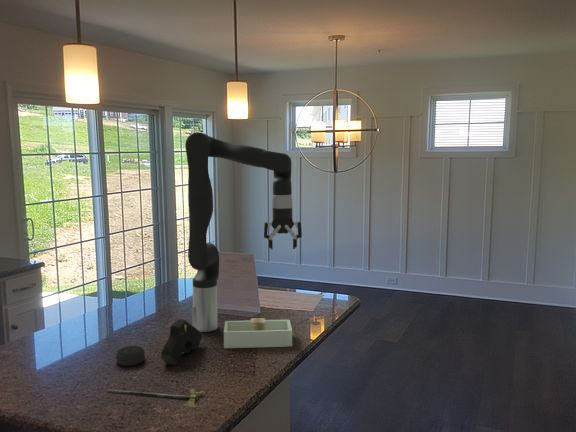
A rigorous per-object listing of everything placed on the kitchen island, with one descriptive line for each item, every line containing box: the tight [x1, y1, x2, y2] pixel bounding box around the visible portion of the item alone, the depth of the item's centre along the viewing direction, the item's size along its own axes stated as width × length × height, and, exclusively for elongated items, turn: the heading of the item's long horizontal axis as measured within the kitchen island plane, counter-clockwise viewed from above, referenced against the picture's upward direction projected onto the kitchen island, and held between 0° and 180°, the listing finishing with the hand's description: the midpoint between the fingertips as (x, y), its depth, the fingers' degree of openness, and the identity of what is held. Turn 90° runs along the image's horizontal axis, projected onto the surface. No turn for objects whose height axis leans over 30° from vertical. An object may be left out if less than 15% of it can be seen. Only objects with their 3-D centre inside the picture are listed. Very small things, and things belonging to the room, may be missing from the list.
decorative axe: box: [106, 388, 205, 408], centre depth 145 cm, size 30×2×10 cm
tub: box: [223, 319, 293, 349], centre depth 186 cm, size 24×12×6 cm, turn 95°
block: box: [250, 317, 266, 331], centre depth 185 cm, size 5×5×7 cm
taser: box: [160, 318, 203, 366], centre depth 172 cm, size 4×18×15 cm
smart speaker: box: [115, 345, 146, 367], centre depth 167 cm, size 9×9×4 cm
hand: (282, 249), depth 194 cm, fingers open, 8 cm apart
